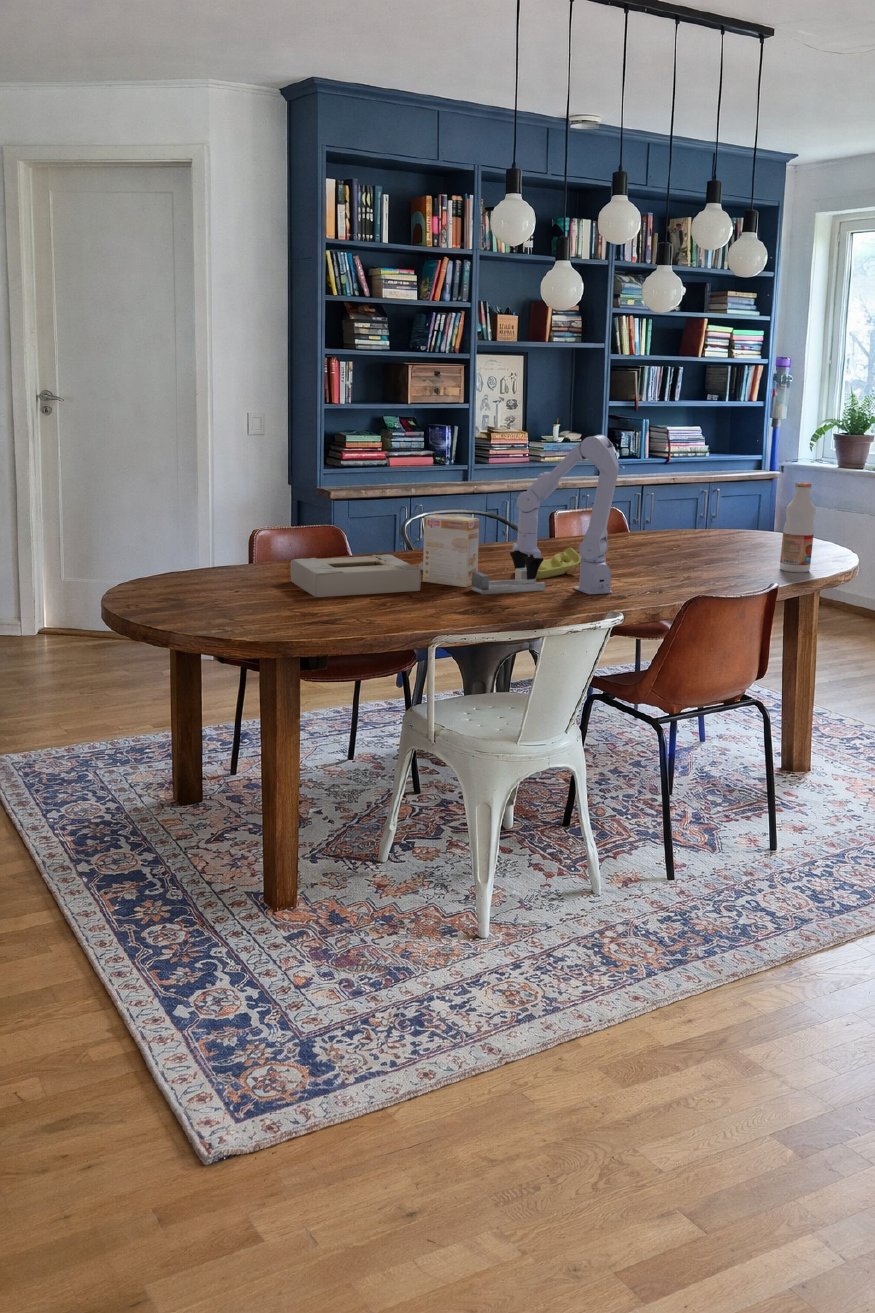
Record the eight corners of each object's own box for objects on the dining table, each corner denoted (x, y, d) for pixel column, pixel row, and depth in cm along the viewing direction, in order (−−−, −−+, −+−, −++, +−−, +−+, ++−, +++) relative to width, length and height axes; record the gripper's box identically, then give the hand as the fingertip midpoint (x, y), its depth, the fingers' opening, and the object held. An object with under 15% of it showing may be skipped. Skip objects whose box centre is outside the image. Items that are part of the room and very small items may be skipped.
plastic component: (536, 572, 354) (518, 553, 359) (530, 592, 358) (512, 573, 364) (587, 562, 364) (568, 544, 370) (580, 581, 368) (561, 563, 374)
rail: (544, 590, 339) (545, 572, 337) (481, 594, 331) (482, 576, 330) (533, 585, 345) (534, 568, 344) (471, 589, 337) (472, 571, 336)
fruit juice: (776, 567, 385) (785, 480, 378) (806, 568, 384) (815, 481, 377) (782, 572, 376) (791, 484, 369) (812, 573, 375) (821, 485, 368)
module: (535, 584, 347) (536, 569, 346) (520, 585, 345) (521, 570, 344) (529, 582, 350) (530, 566, 349) (514, 583, 348) (515, 567, 347)
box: (391, 577, 356) (289, 582, 343) (392, 552, 354) (289, 556, 341) (422, 593, 335) (314, 600, 322) (423, 567, 333) (315, 572, 320)
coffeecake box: (478, 584, 346) (480, 517, 341) (466, 588, 340) (468, 520, 335) (434, 578, 353) (435, 513, 348) (421, 581, 347) (423, 515, 342)
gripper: (504, 528, 349) (502, 574, 352) (526, 536, 336) (524, 583, 339) (525, 528, 351) (523, 572, 355) (548, 535, 339) (546, 582, 342)
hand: (525, 578), depth 347 cm, fingers open, 7 cm apart
